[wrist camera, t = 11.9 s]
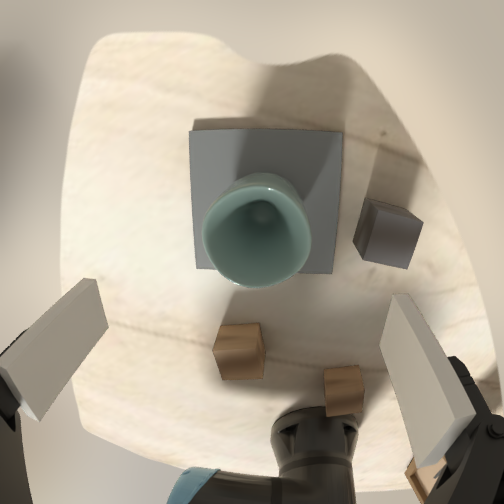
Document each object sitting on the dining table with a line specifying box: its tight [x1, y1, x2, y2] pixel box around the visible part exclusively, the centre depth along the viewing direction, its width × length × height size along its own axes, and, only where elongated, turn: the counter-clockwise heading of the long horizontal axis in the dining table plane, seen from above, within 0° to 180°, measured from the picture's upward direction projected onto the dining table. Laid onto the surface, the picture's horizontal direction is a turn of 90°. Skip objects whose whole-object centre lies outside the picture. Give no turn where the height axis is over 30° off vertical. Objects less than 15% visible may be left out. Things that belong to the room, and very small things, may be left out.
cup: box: [202, 172, 312, 288], centre depth 26 cm, size 8×8×10 cm
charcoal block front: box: [353, 198, 424, 269], centre depth 29 cm, size 5×5×5 cm
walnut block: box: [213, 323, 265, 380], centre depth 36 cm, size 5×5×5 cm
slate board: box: [189, 129, 343, 274], centre depth 31 cm, size 15×15×1 cm
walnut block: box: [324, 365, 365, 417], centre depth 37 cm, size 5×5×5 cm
